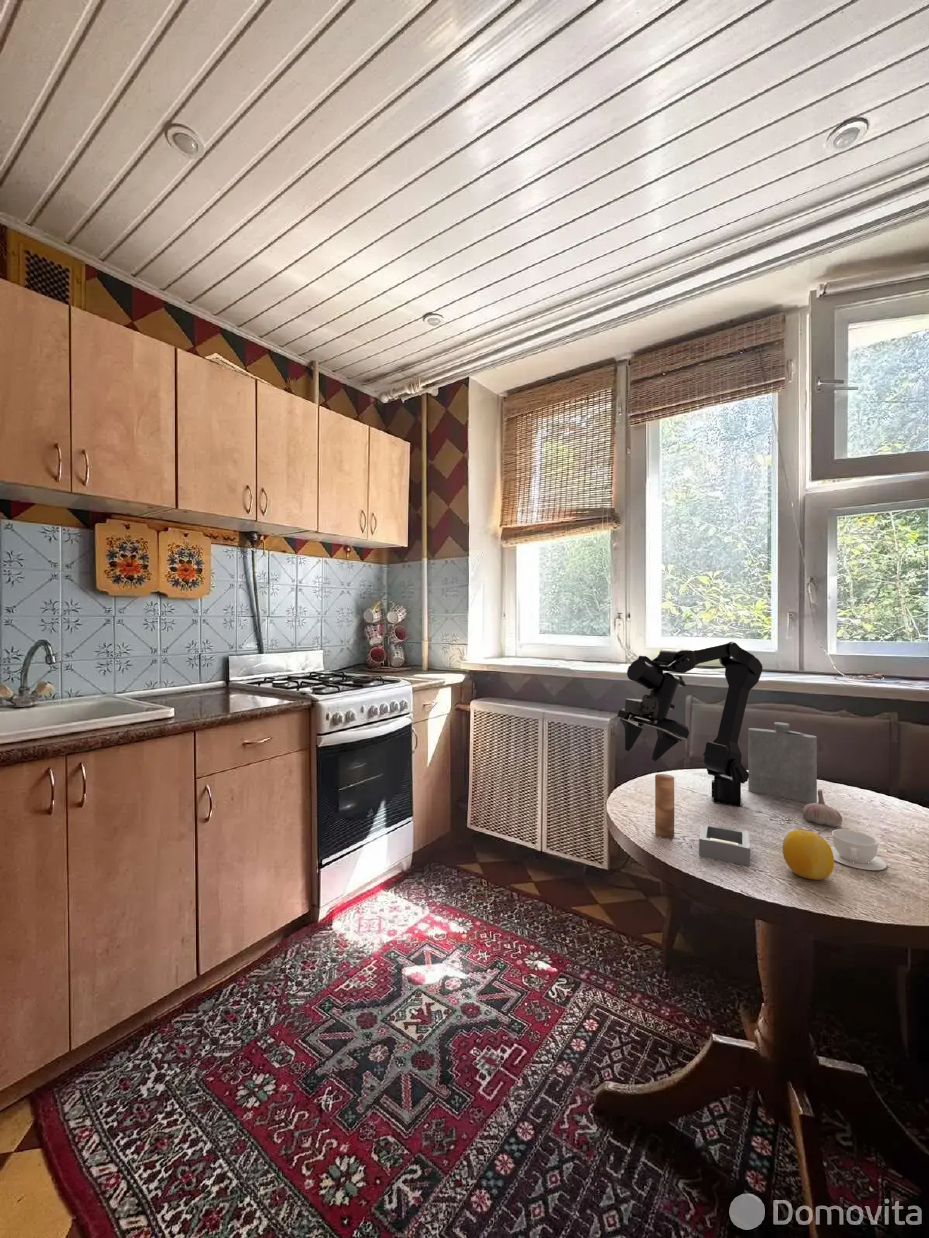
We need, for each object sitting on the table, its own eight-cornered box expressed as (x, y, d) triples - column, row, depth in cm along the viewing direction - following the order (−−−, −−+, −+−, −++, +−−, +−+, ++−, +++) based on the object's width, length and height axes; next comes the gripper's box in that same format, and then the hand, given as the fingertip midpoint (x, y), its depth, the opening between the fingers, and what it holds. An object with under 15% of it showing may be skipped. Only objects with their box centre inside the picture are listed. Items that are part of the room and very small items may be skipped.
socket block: (748, 847, 105) (748, 830, 105) (749, 866, 97) (749, 847, 97) (701, 838, 109) (701, 821, 109) (699, 855, 101) (699, 837, 101)
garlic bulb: (795, 819, 120) (795, 786, 120) (816, 815, 123) (816, 783, 123) (828, 831, 113) (828, 797, 113) (849, 827, 116) (849, 793, 116)
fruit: (845, 889, 89) (845, 845, 89) (796, 885, 90) (796, 841, 90) (818, 865, 97) (818, 824, 97) (773, 862, 99) (773, 822, 99)
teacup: (826, 844, 107) (825, 822, 107) (886, 858, 101) (886, 835, 101) (822, 861, 99) (822, 838, 99) (887, 878, 93) (887, 853, 93)
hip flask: (747, 791, 140) (747, 720, 140) (750, 787, 143) (750, 718, 143) (816, 804, 129) (816, 728, 130) (817, 800, 133) (817, 725, 133)
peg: (675, 832, 112) (675, 775, 112) (673, 839, 109) (673, 780, 109) (656, 829, 114) (656, 772, 114) (654, 835, 111) (653, 777, 111)
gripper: (612, 679, 129) (591, 735, 126) (667, 688, 112) (643, 754, 109) (643, 695, 133) (622, 750, 130) (700, 707, 116) (678, 770, 113)
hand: (639, 755), depth 121 cm, fingers open, 9 cm apart
